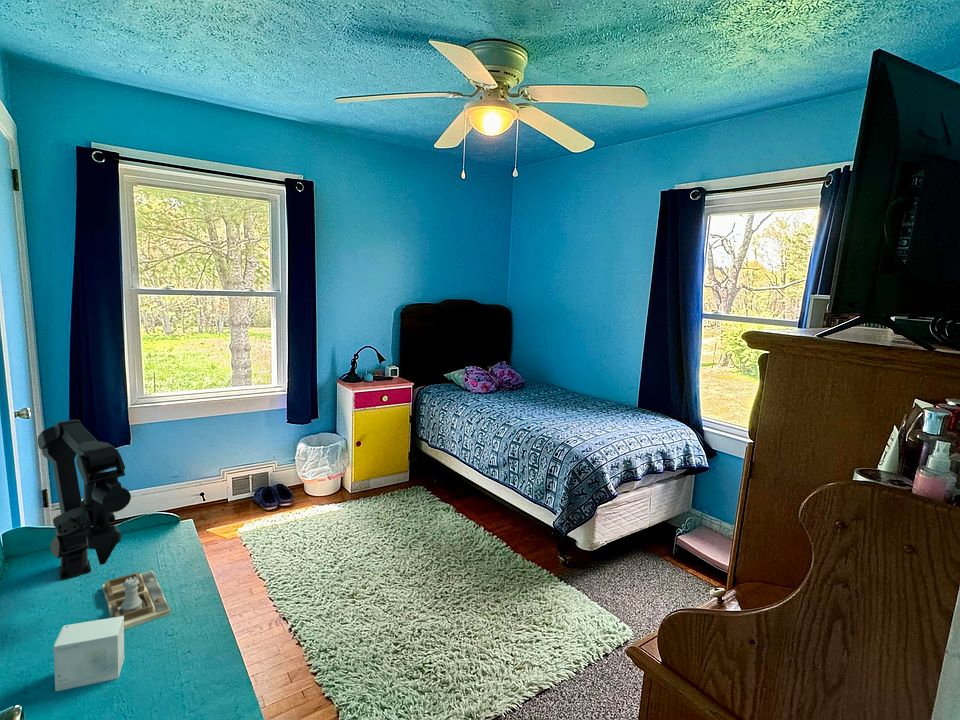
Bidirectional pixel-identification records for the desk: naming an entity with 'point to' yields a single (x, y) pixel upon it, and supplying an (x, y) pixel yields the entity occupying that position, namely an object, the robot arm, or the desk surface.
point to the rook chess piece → (131, 596)
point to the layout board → (148, 594)
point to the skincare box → (89, 653)
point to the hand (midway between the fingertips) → (99, 554)
